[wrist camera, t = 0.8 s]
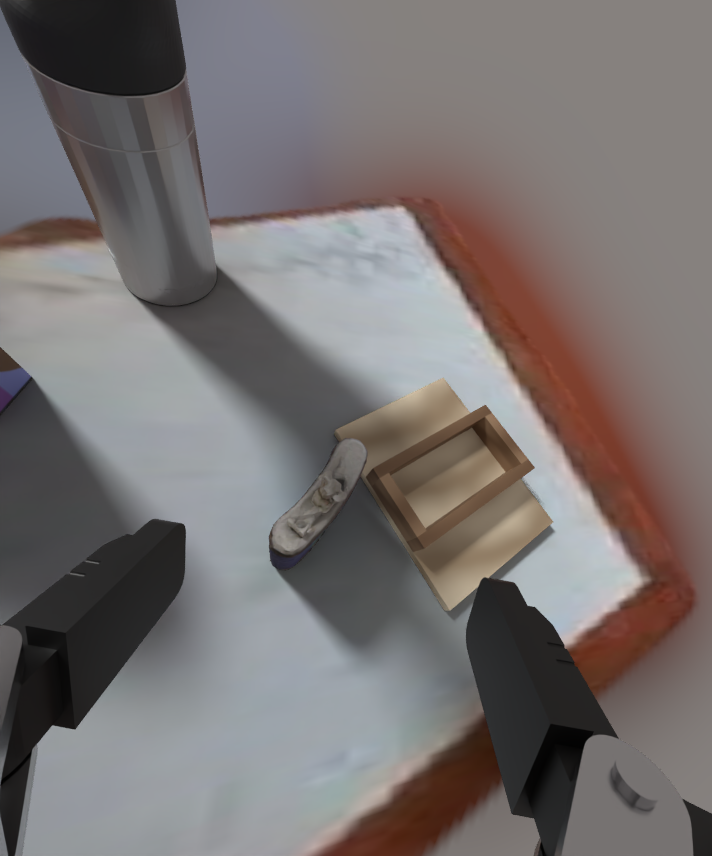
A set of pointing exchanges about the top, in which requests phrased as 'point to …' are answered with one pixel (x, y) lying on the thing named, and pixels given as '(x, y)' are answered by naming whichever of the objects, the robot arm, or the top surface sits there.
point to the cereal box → (10, 380)
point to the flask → (317, 505)
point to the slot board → (448, 487)
